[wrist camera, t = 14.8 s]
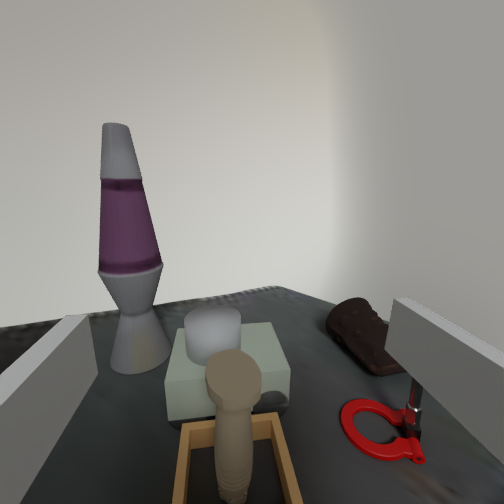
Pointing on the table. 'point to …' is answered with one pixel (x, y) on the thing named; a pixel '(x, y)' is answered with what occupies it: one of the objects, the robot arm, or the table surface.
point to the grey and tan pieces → (200, 404)
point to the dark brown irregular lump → (363, 335)
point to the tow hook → (402, 418)
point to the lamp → (129, 256)
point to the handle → (233, 419)
